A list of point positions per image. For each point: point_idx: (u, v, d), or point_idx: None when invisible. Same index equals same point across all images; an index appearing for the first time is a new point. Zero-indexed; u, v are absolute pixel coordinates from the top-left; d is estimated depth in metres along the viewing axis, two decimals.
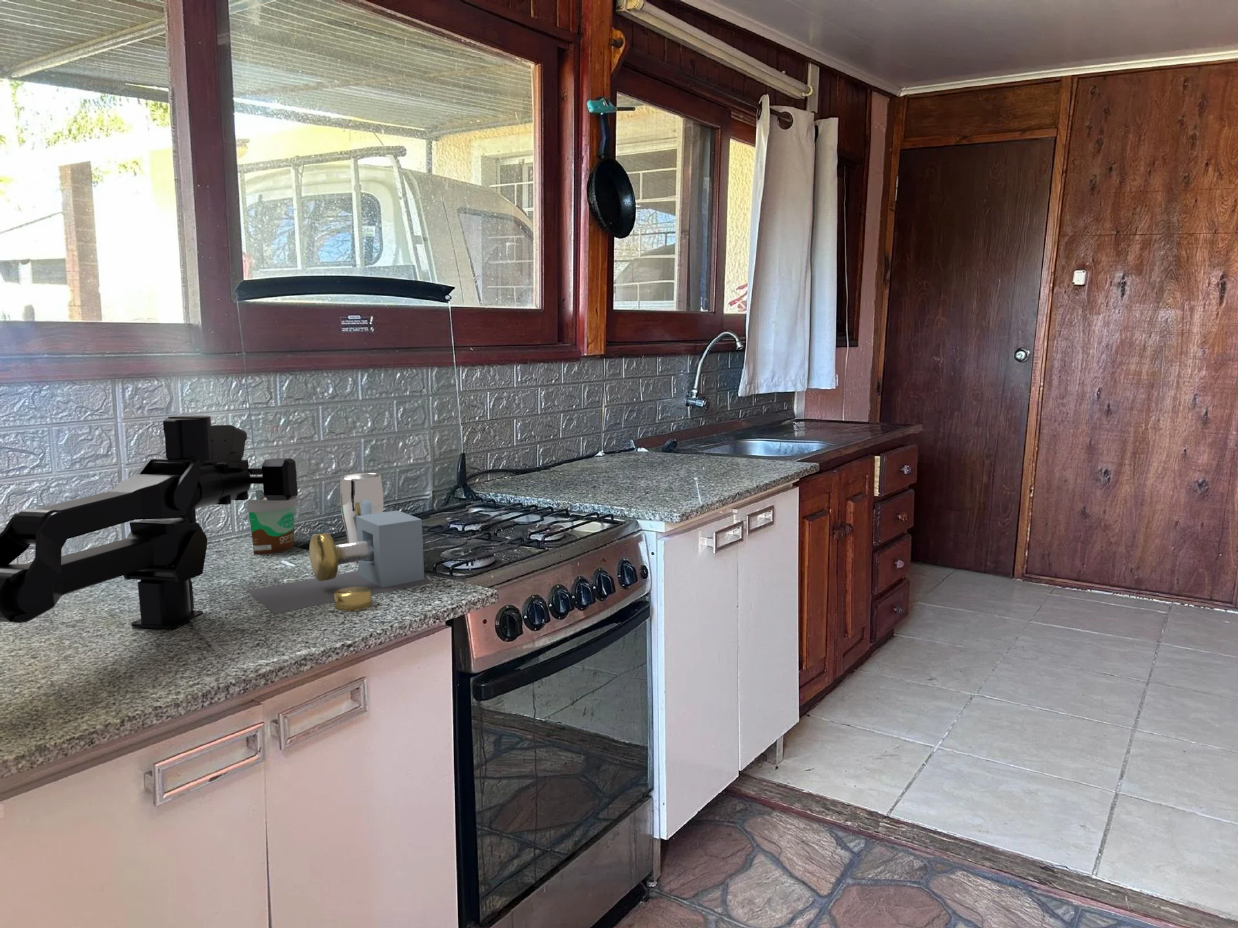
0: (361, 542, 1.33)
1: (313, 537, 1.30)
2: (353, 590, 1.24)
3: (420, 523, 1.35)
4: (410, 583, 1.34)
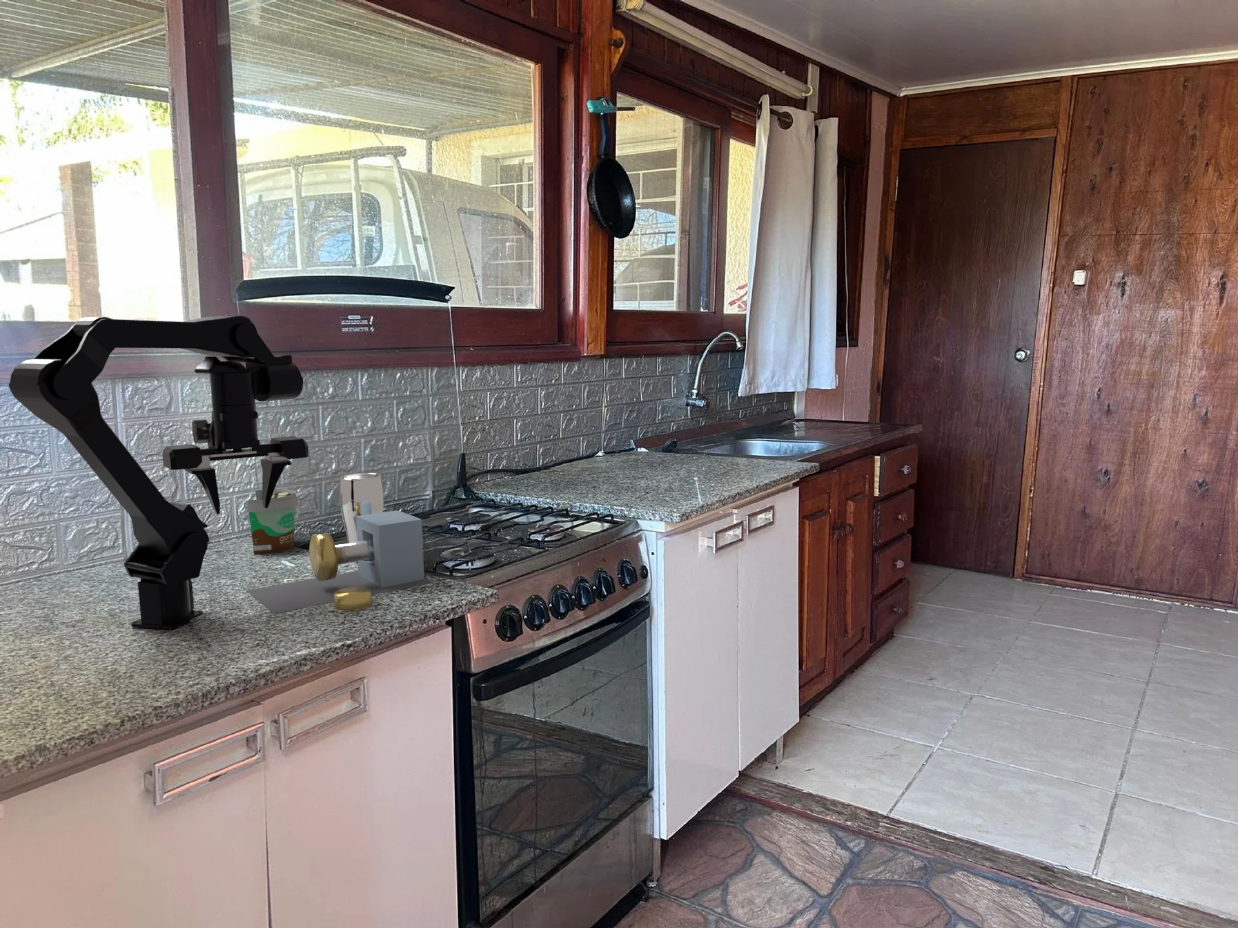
0: (361, 542, 1.33)
1: (313, 537, 1.30)
2: (353, 590, 1.24)
3: (420, 523, 1.35)
4: (410, 583, 1.34)
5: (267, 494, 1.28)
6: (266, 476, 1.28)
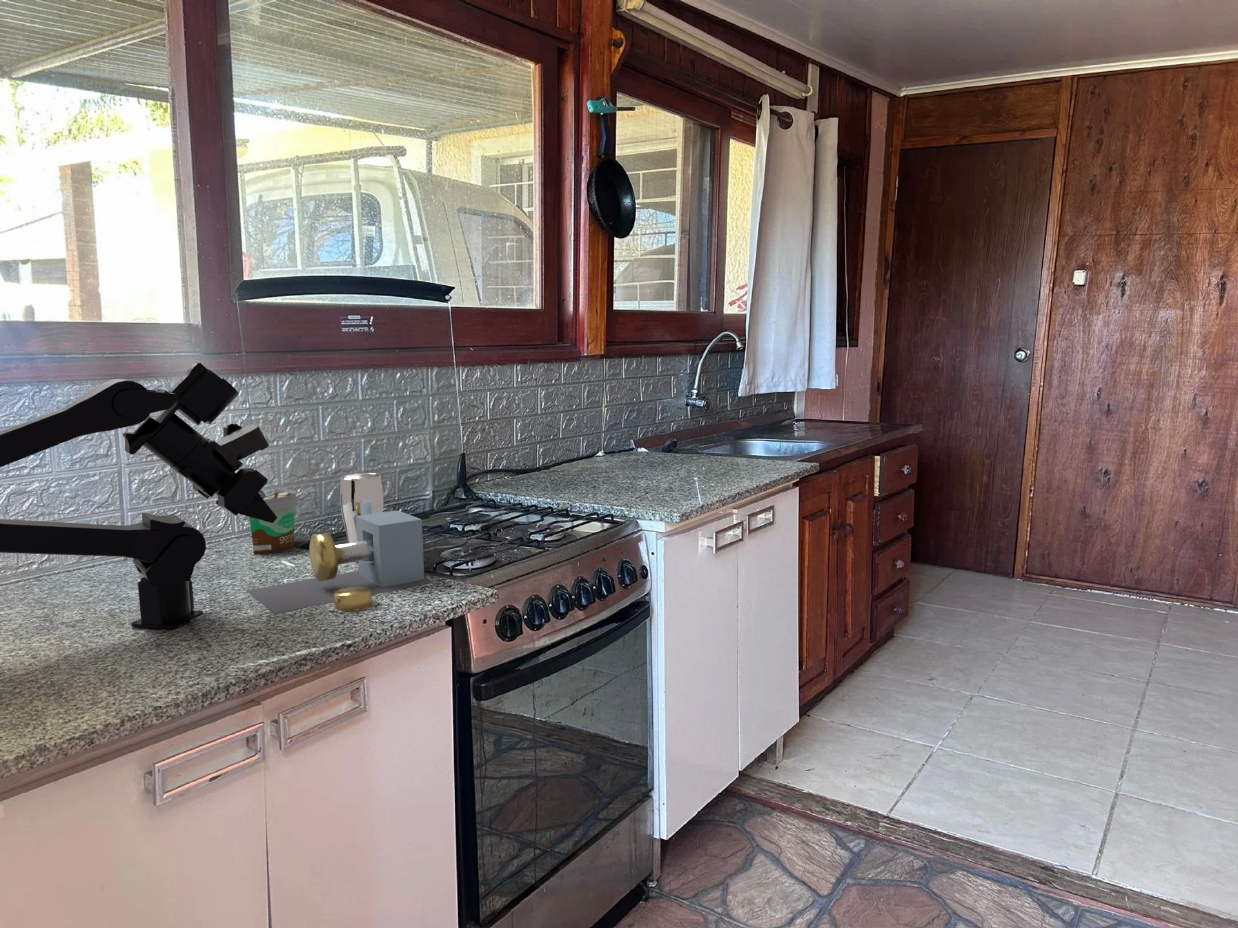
0: (361, 542, 1.33)
1: (313, 537, 1.30)
2: (353, 590, 1.24)
3: (420, 523, 1.35)
4: (410, 583, 1.34)
5: None
6: None
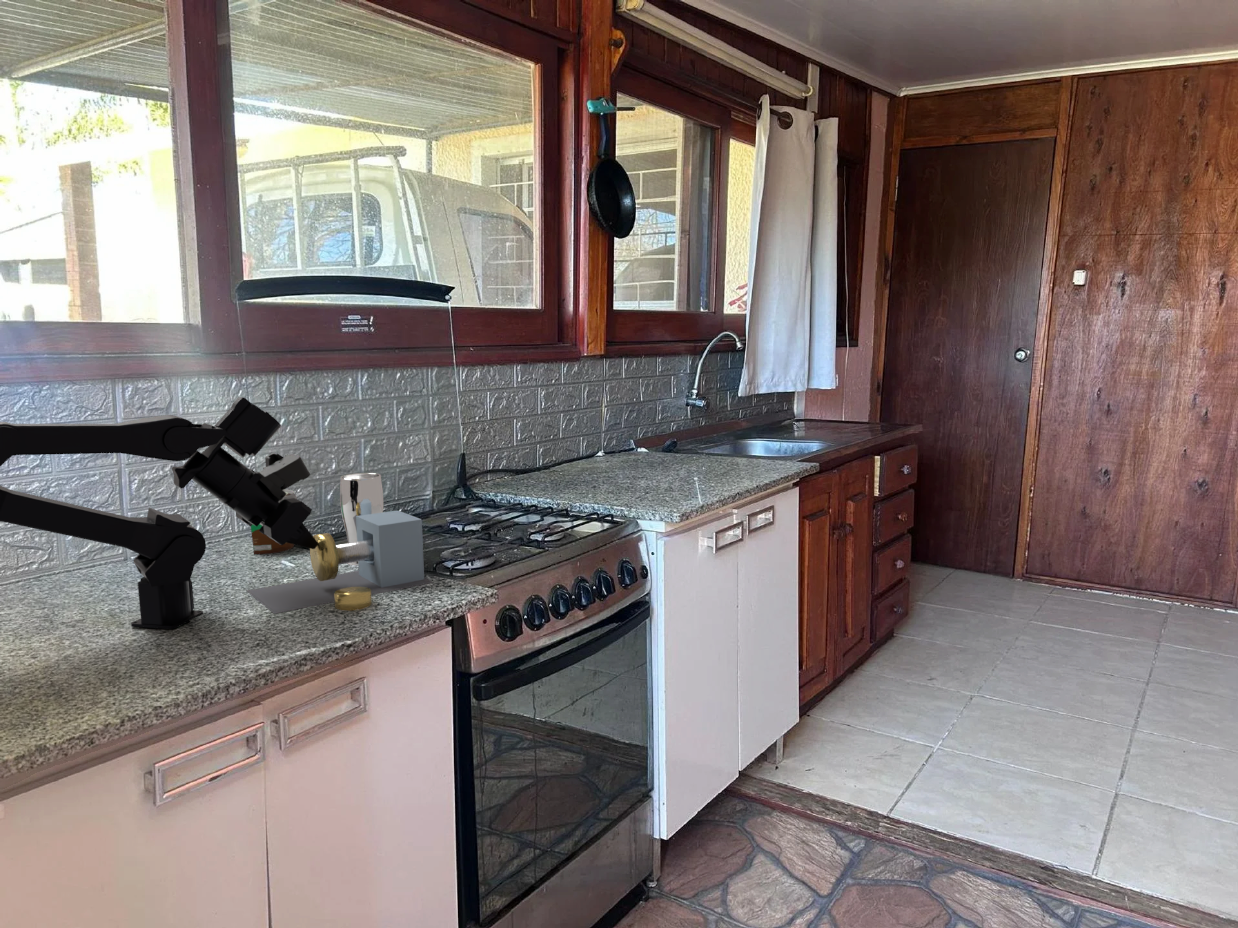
0: (362, 542, 1.33)
1: (314, 537, 1.30)
2: (353, 590, 1.24)
3: (420, 523, 1.35)
4: (410, 583, 1.34)
5: None
6: None
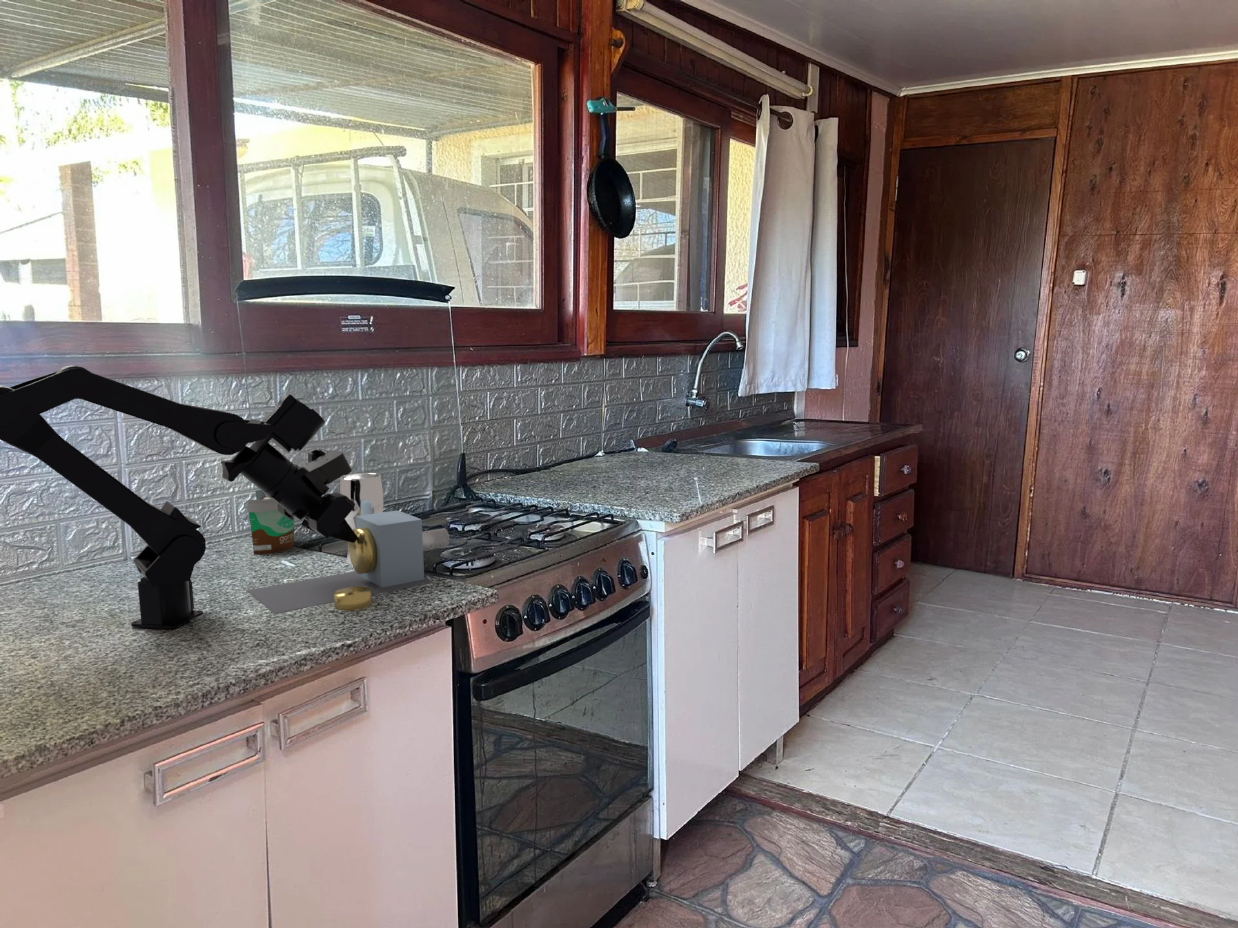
0: None
1: None
2: (353, 590, 1.24)
3: (420, 523, 1.35)
4: (410, 583, 1.34)
5: None
6: None
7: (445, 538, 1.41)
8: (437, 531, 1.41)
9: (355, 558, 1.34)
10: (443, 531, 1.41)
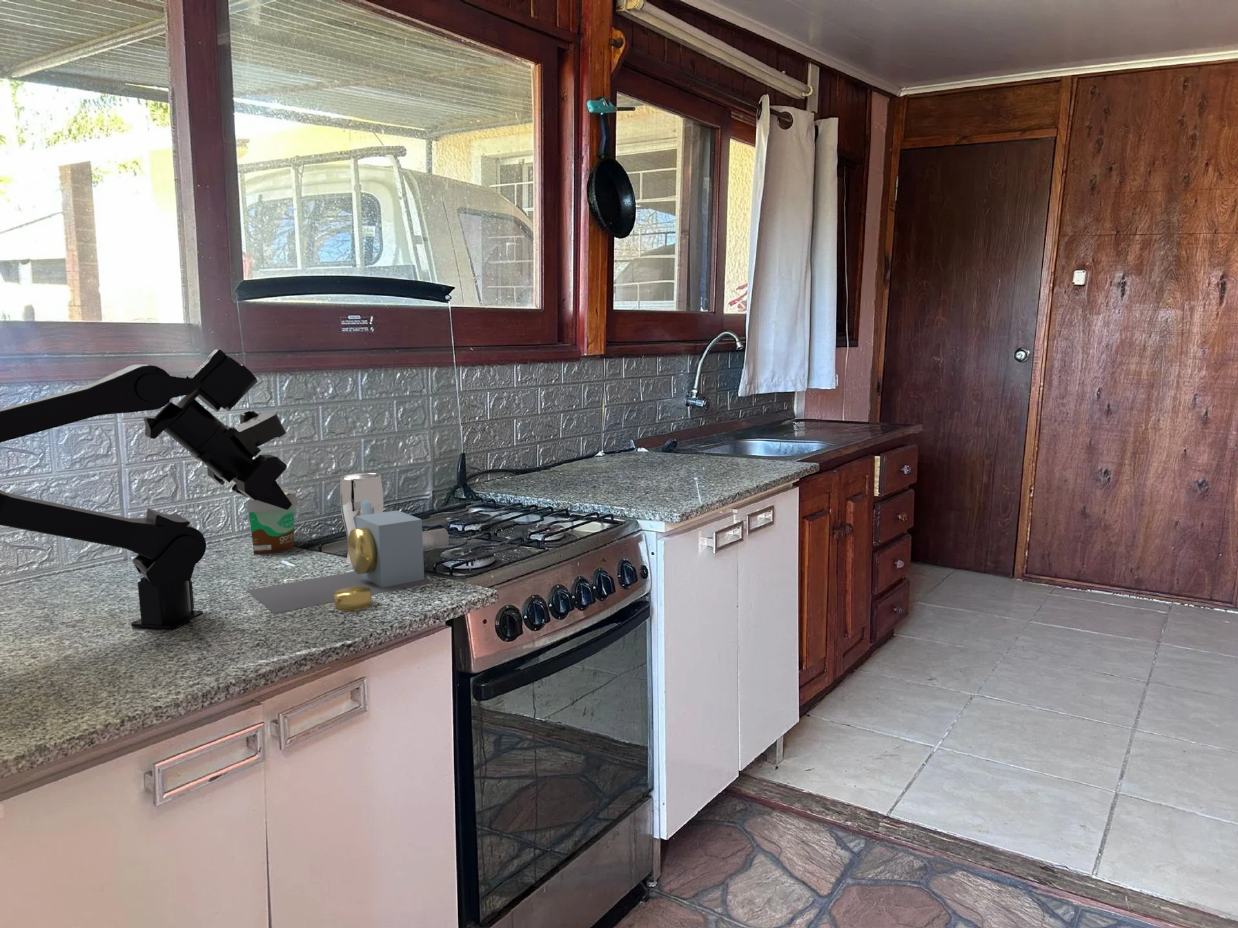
0: None
1: (352, 531, 1.34)
2: (353, 590, 1.24)
3: (420, 523, 1.35)
4: (410, 583, 1.34)
5: (272, 504, 1.25)
6: None
7: (445, 538, 1.41)
8: (437, 531, 1.41)
9: (354, 558, 1.34)
10: (442, 531, 1.41)
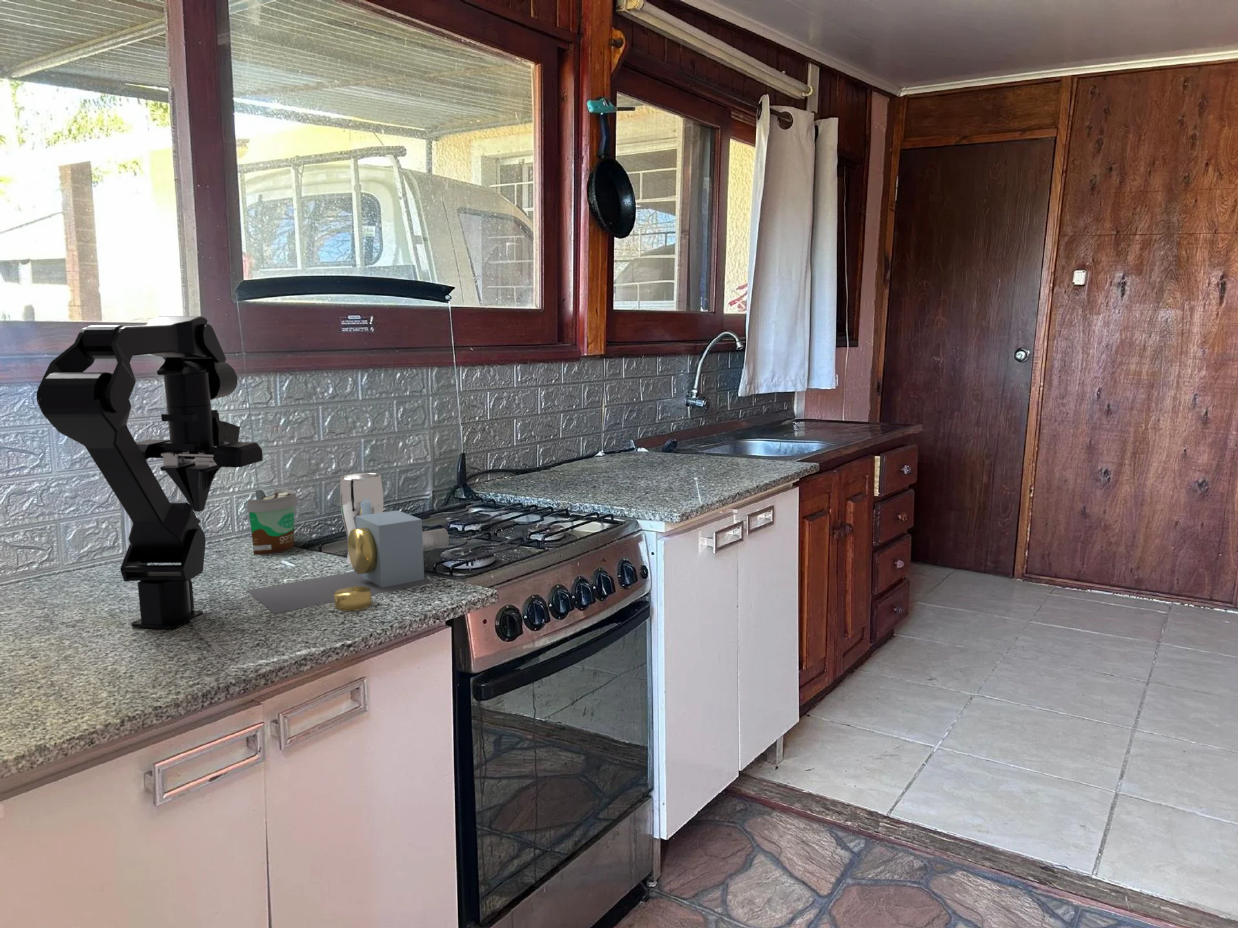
0: None
1: (352, 531, 1.34)
2: (353, 590, 1.24)
3: (420, 523, 1.35)
4: (410, 583, 1.34)
5: (193, 498, 1.25)
6: None
7: (445, 538, 1.41)
8: (437, 531, 1.41)
9: (354, 558, 1.34)
10: (442, 531, 1.41)
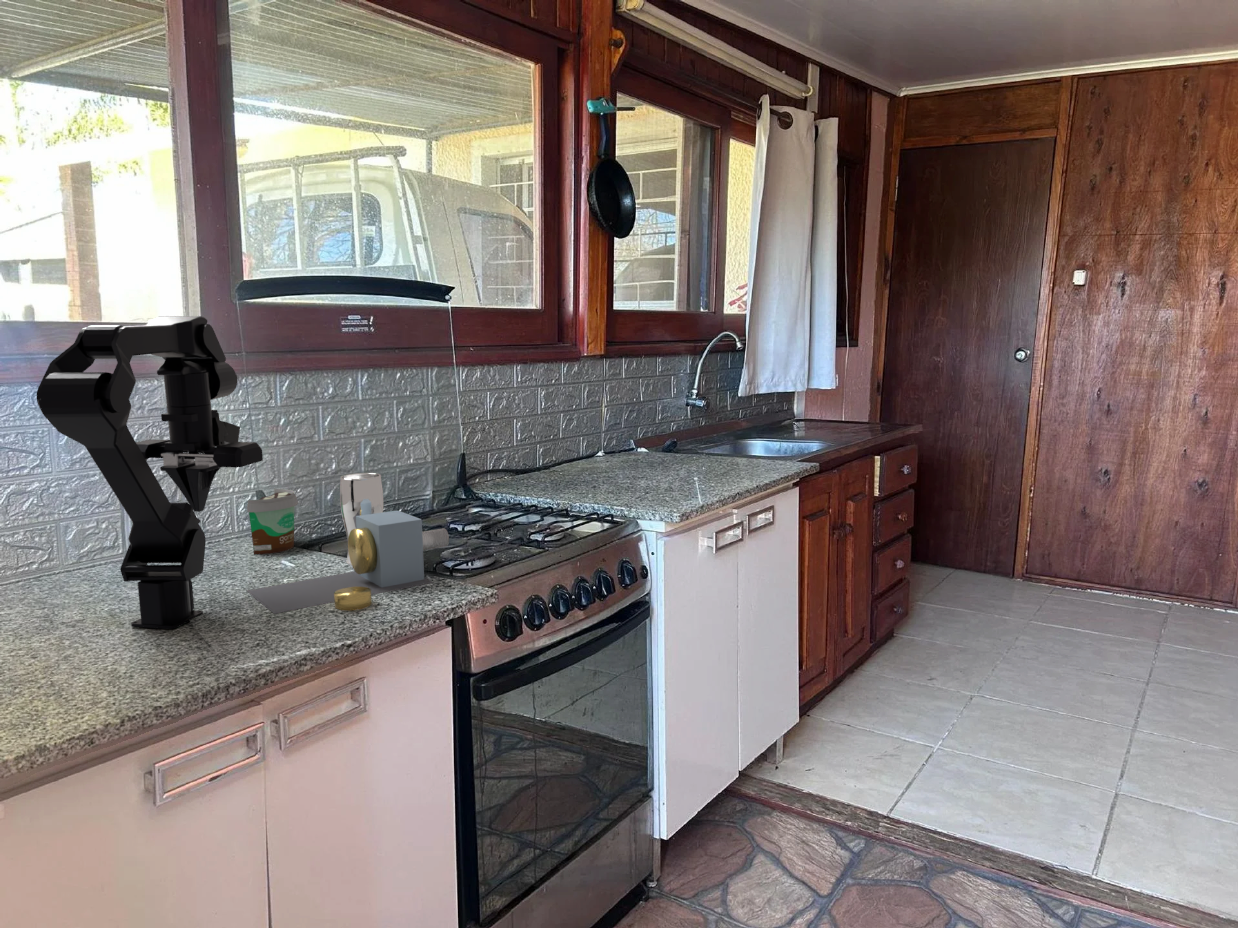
0: None
1: (352, 531, 1.34)
2: (353, 590, 1.24)
3: (420, 523, 1.35)
4: (410, 583, 1.34)
5: (193, 498, 1.25)
6: None
7: (445, 538, 1.41)
8: (437, 531, 1.41)
9: (354, 558, 1.34)
10: (442, 531, 1.41)
